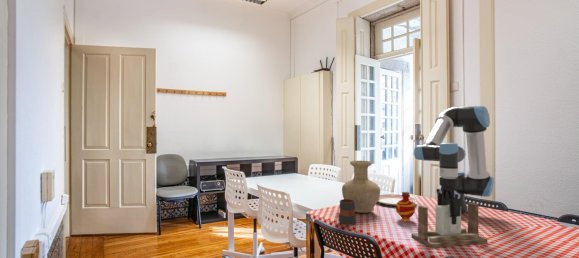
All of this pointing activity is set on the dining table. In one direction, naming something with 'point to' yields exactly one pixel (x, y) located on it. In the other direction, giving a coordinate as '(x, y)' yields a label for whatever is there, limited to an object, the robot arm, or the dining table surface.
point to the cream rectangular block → (445, 221)
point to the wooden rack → (439, 240)
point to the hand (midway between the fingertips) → (448, 229)
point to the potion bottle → (405, 207)
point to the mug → (347, 212)
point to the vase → (361, 188)
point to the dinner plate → (392, 199)
